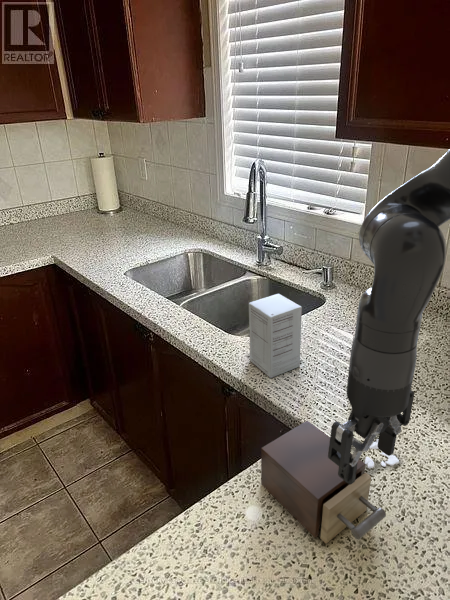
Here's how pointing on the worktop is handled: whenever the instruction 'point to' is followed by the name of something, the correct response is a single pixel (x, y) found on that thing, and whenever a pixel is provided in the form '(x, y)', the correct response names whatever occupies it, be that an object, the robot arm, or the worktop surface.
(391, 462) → the white lumpy pieces
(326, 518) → the drawer
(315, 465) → the cabinet
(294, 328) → the supplement box
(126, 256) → the worktop surface
